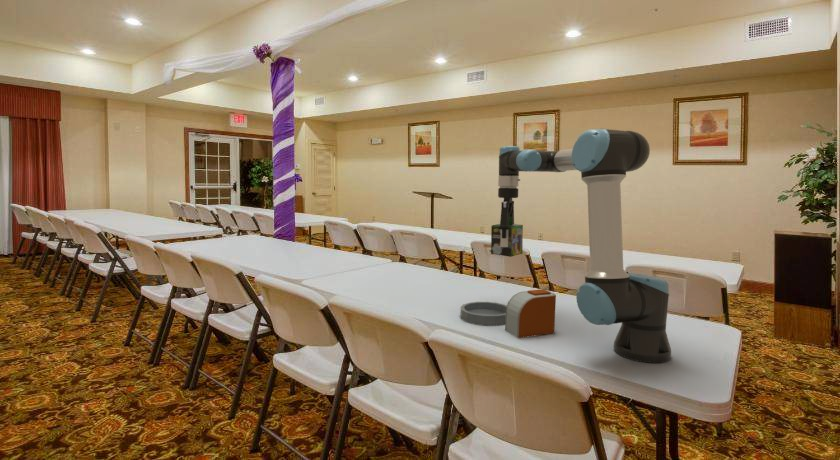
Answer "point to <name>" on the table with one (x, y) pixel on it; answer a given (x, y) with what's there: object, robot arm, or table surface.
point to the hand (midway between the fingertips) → (506, 244)
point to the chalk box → (513, 240)
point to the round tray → (484, 313)
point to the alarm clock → (531, 313)
